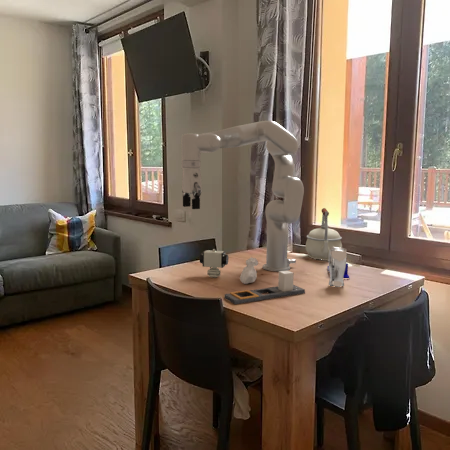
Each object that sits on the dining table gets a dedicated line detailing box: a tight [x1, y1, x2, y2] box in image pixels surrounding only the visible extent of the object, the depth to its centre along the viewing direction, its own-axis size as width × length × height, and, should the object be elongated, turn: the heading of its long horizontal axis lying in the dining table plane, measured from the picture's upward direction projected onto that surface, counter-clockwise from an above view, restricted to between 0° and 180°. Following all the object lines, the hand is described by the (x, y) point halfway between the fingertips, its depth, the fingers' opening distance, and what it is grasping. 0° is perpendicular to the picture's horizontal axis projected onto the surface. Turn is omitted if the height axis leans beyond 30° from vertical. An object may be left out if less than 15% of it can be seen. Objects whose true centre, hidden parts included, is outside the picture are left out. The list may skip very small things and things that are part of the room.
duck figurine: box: [239, 256, 259, 285], centre depth 185 cm, size 12×8×11 cm
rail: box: [224, 284, 306, 305], centre depth 167 cm, size 30×8×2 cm, turn 117°
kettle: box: [305, 207, 343, 261], centre depth 229 cm, size 25×18×25 cm
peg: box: [277, 270, 294, 292], centre depth 170 cm, size 4×4×8 cm
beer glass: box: [328, 247, 348, 288], centre depth 180 cm, size 7×7×15 cm
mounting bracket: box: [326, 263, 350, 279], centre depth 199 cm, size 18×7×6 cm, turn 173°
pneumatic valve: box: [198, 248, 229, 278], centre depth 193 cm, size 6×12×12 cm, turn 77°
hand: (191, 207), depth 182 cm, fingers open, 9 cm apart
